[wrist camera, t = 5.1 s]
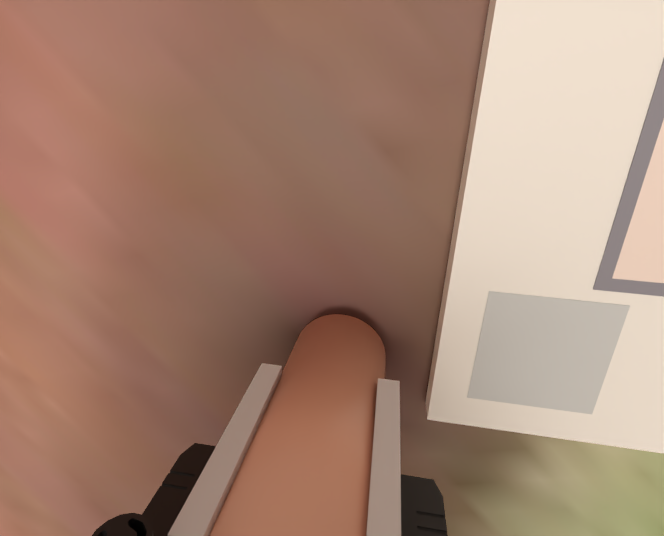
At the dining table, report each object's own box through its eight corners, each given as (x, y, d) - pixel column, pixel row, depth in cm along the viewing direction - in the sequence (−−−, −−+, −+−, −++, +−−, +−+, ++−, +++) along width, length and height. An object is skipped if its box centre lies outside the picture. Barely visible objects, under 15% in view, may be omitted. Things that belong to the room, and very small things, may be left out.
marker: (294, 386, 19) (144, 776, 8) (296, 309, 17) (113, 650, 6) (381, 398, 18) (354, 835, 7) (390, 319, 17) (372, 712, 6)
